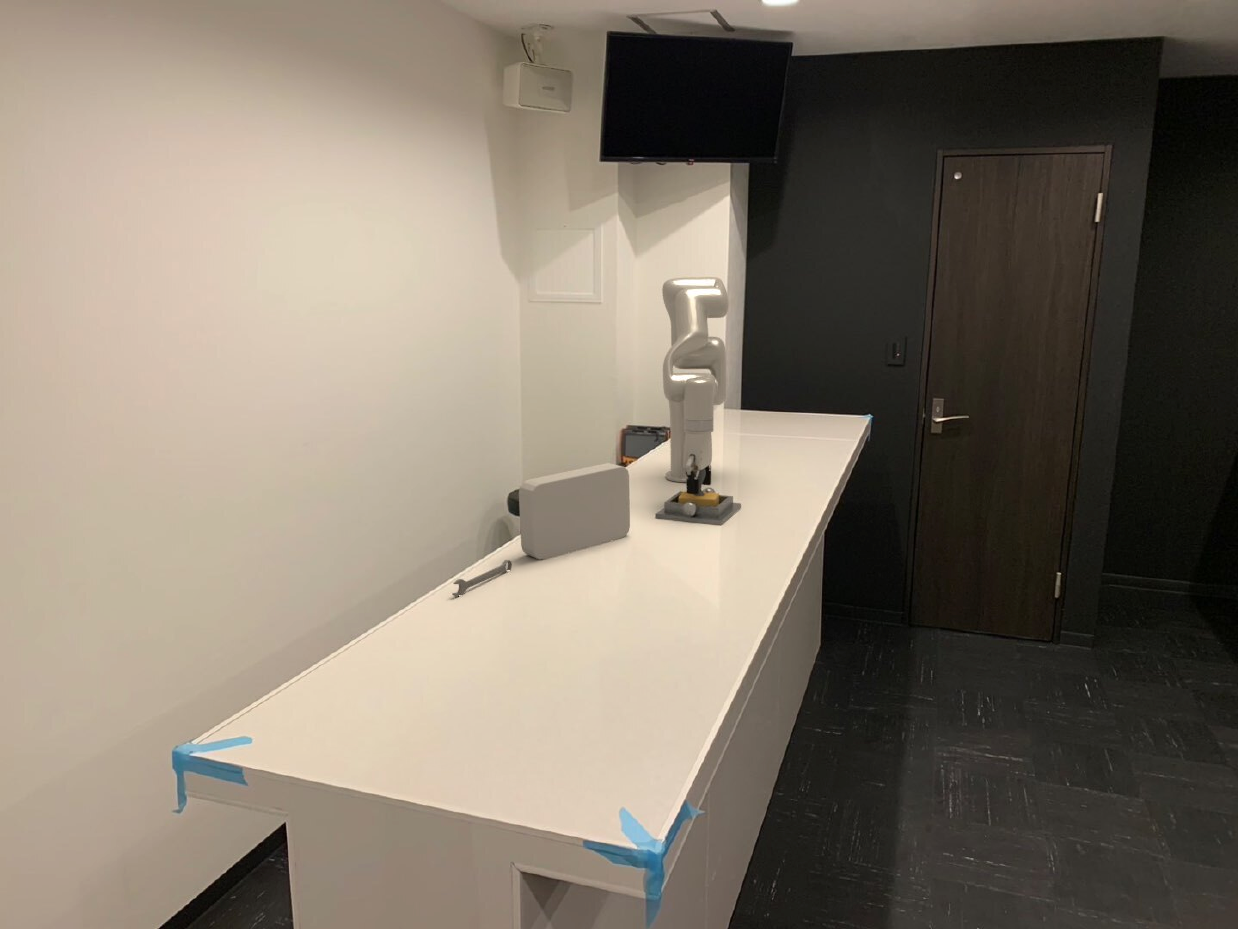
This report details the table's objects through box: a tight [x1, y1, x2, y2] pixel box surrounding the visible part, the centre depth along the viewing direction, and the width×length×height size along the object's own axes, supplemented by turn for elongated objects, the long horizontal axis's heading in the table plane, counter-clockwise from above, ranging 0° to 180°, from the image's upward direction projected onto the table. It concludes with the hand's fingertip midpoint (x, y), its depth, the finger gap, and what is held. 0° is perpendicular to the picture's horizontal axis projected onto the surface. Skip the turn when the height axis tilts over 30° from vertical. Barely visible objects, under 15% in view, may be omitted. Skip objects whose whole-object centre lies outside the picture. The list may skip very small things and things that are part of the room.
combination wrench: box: [451, 559, 513, 598], centre depth 200 cm, size 4×1×20 cm
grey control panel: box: [518, 462, 631, 560], centre depth 223 cm, size 29×8×18 cm, turn 129°
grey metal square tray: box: [655, 487, 742, 526], centre depth 248 cm, size 17×18×5 cm
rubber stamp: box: [679, 467, 720, 507], centre depth 247 cm, size 10×6×12 cm, turn 76°
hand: (698, 489), depth 247 cm, fingers open, 9 cm apart
